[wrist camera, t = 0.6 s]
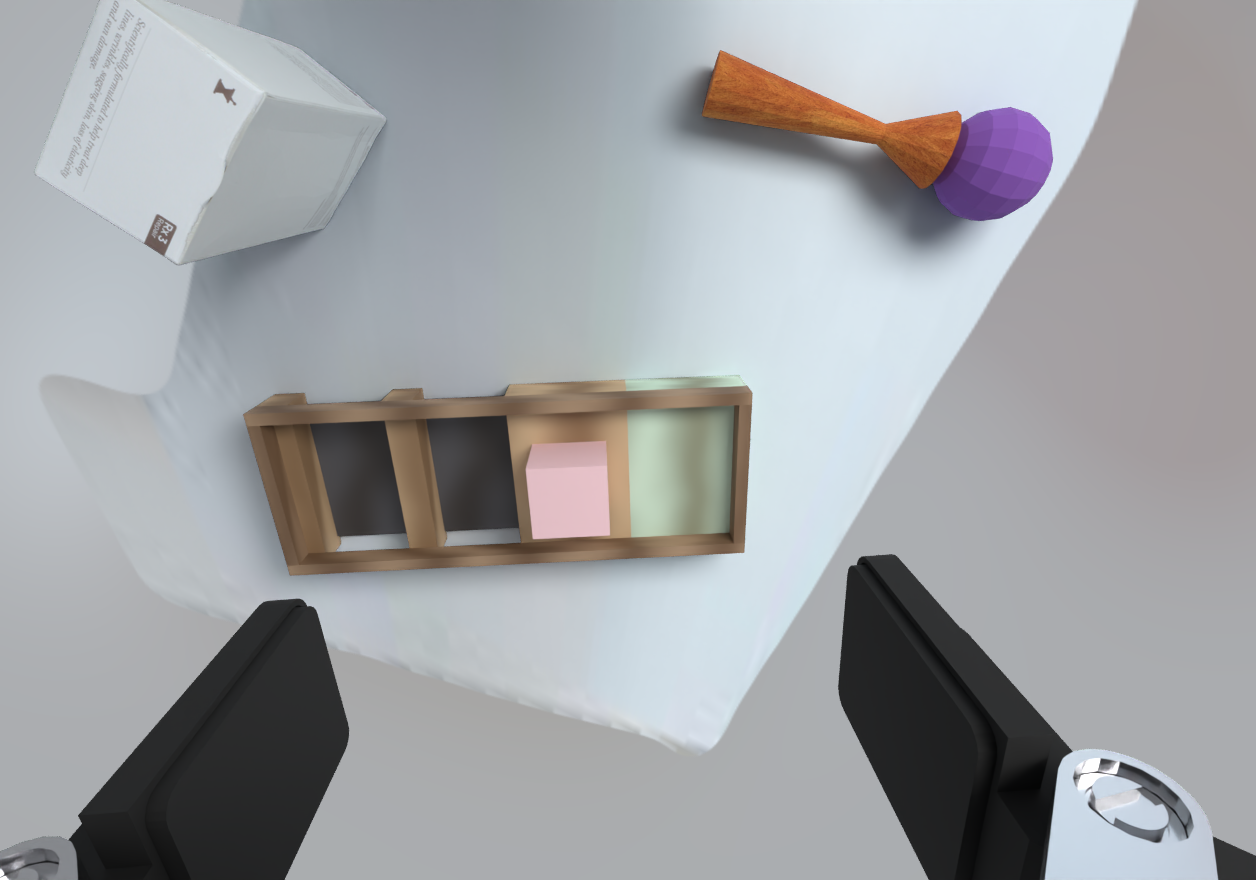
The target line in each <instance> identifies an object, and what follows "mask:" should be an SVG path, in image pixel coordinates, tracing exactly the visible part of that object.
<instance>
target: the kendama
mask: <svg viewBox="0 0 1256 880" xmlns="http://www.w3.org/2000/svg"><path fill="white" fill-rule="evenodd" d="M702 116H703V117H709V118H715V119H722V120H728V121H734V122H740V123H747V124H753V125H759V126H765V127H771V128H778V129H784V130H790V131H796V132H803V133H809V134H815V135H821V136H828V137H834V138H840V139H846V140H853V141H859V142H865V143H871V144H877V145H878V146H879V147H880V148H881V149H882V150H883V151H884V152H885V153H886V154H887V155H888V156H889V157H890V158H891V159H892V161H893V162H894V163H895V164H896V165H897V166H898V167H899V168H900V169H901V170H902V171H903V172H904V173H905V174H906V175H907V176H908V177H909V178H910V179H911V180H912V181H913V182H914V183H915V184H916V185H917V186H918V187H919V188H920V189H923V188H927V187H928V186H929V185H931V184H932V183H933V185H934V188H935V192H936V195H937V197H938V199H939V201H940V203H941V204H943V205H944V206H945V207H946V208H947V209H948V210H949V211H950V212H951V213H952V214H953V215H955V216H959V217H962V218H966V219H969V220H975V221H984V220H991V219H999V218H1002V217H1004V216H1006V215H1008V214H1010V213H1012V212H1013V211H1015V210H1017V209H1019V208H1020V207H1022V206H1024V205H1025V204H1027V203H1028V202H1029V201H1030V200H1031V199H1032V198H1033V197H1034V196H1036V194H1037V193H1038V192H1039V190H1040V189H1041V187H1042V186H1043V185H1044V183H1045V181H1046V179H1047V177H1048V175H1049V173H1050V170H1051V166H1052V162H1053V155H1052V147H1051V139H1050V133H1049V132H1048V131H1047V130H1046V129H1045V127H1044V126H1043V125H1042V124H1041V123H1040V122H1039V121H1038V120H1037V119H1036V118H1035V117H1034V116H1033V115H1032V114H1030V113H1028V112H1024V111H1021V110H1018V109H1015V108H1011V107H1008V108H1002V109H995V110H989V111H984V112H980V113H978V114H976V115H974V116H973V117H971V118H969V119H968V120H966V121H964V122H962V123H961V114H960V113H959V112H958V111H954V112H948V113H943V114H938V115H932V116H927V117H921V118H916V119H910V120H905V121H900V122H894V123H889V124H884V123H882V122H880V121H878V120H876V119H873V118H871V117H869V116H867V115H864V114H862V113H860V112H858V111H855V110H853V109H851V108H849V107H846V106H844V105H842V104H840V103H837V102H835V101H833V100H831V99H829V98H826V97H824V96H822V95H820V94H817V93H815V92H813V91H811V90H808V89H806V88H804V87H802V86H799V85H797V84H795V83H793V82H791V81H788V80H786V79H784V78H782V77H779V76H777V75H775V74H773V73H770V72H768V71H766V70H764V69H761V68H759V67H757V66H755V65H752V64H750V63H748V62H746V61H744V60H741V59H739V58H737V57H735V56H732V55H730V54H728V53H726V52H723V51H721V50H720V52H719V54H718V57H717V60H716V63H715V67H714V70H713V73H712V77H711V81H710V84H709V88H708V92H707V96H706V99H705V103H704V107H703V112H702Z"/></svg>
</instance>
